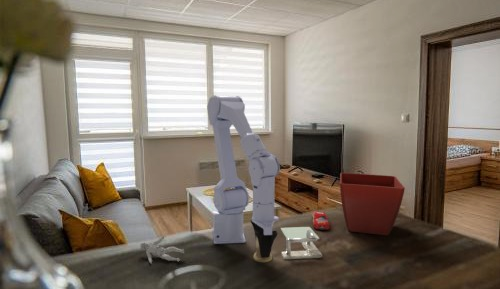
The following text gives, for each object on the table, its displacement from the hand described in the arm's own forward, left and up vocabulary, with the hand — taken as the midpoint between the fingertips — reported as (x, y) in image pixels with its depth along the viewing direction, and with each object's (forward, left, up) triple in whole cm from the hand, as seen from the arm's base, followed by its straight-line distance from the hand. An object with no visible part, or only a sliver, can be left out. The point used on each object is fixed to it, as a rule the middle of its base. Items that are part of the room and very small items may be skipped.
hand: (262, 251), depth 85 cm
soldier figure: (-27, +3, -2) cm, 27 cm away
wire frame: (+11, +3, -2) cm, 11 cm away
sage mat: (+14, +16, -2) cm, 21 cm away
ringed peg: (0, 0, -2) cm, 2 cm away
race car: (+24, +24, -2) cm, 34 cm away
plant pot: (+39, +19, -2) cm, 44 cm away
